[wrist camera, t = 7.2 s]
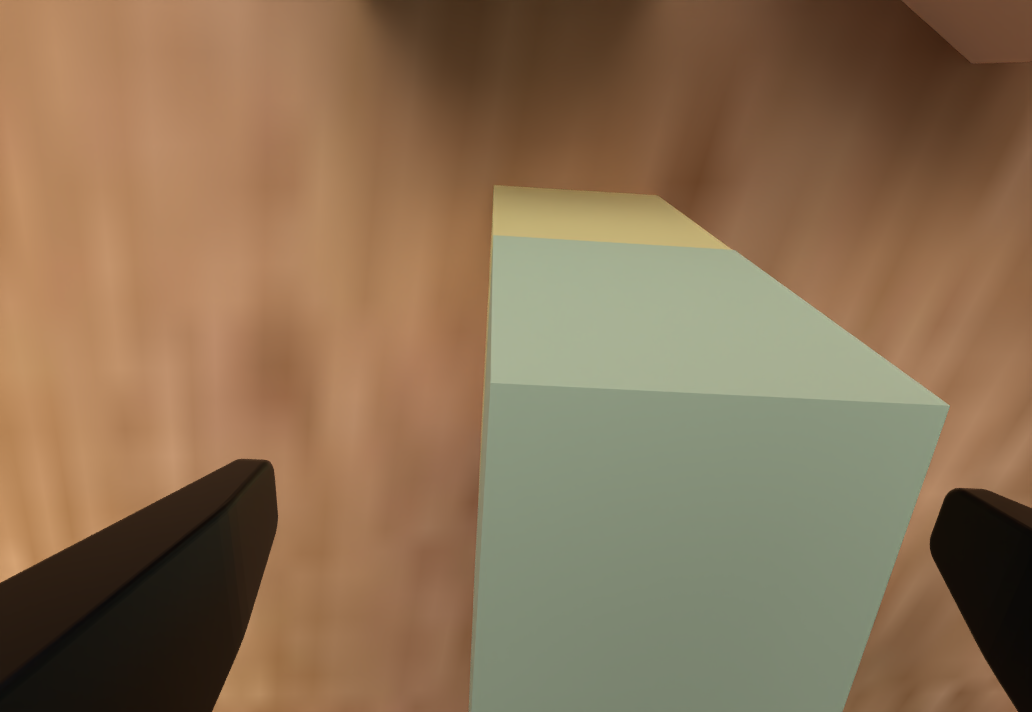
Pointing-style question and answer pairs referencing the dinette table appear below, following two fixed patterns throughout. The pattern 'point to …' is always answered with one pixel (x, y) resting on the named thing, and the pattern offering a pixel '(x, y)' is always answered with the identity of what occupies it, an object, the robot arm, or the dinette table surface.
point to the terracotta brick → (981, 27)
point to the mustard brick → (591, 221)
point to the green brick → (681, 485)
